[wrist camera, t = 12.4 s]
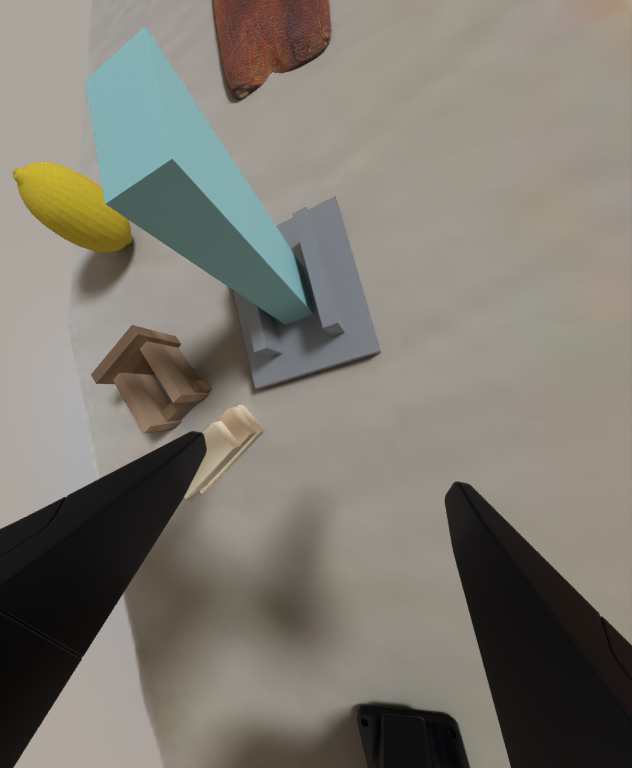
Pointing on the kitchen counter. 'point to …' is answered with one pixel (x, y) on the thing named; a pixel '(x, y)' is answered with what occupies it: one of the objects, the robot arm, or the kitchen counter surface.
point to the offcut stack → (224, 446)
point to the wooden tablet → (268, 38)
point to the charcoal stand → (329, 302)
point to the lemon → (72, 207)
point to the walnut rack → (152, 378)
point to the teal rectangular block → (186, 180)
